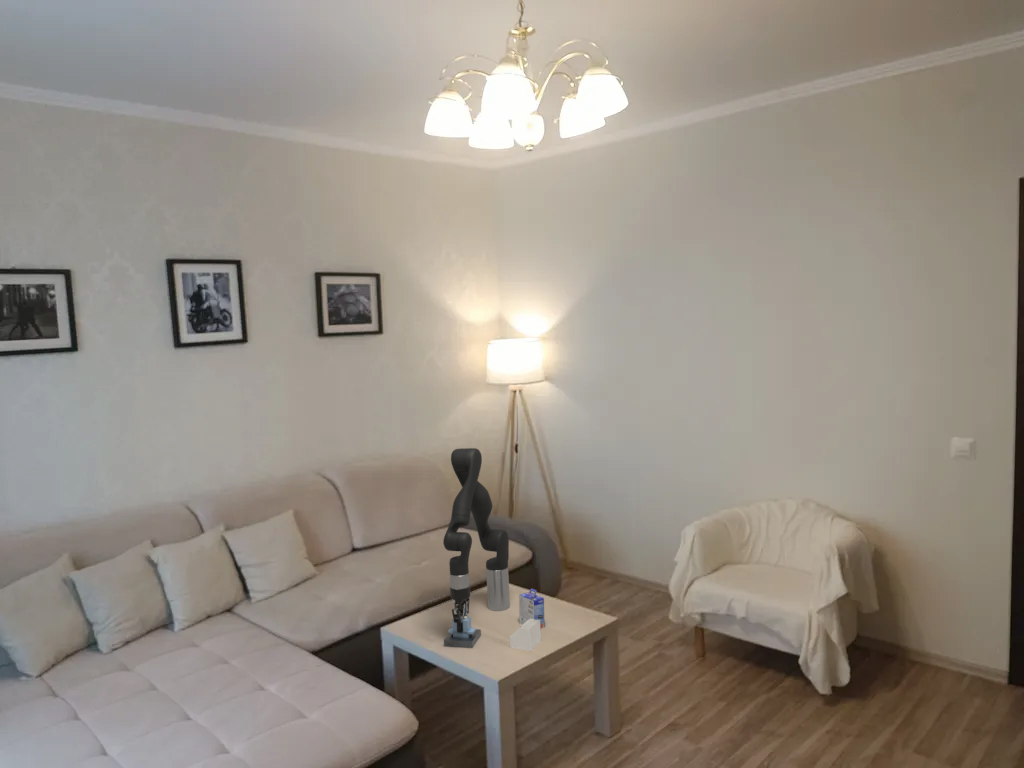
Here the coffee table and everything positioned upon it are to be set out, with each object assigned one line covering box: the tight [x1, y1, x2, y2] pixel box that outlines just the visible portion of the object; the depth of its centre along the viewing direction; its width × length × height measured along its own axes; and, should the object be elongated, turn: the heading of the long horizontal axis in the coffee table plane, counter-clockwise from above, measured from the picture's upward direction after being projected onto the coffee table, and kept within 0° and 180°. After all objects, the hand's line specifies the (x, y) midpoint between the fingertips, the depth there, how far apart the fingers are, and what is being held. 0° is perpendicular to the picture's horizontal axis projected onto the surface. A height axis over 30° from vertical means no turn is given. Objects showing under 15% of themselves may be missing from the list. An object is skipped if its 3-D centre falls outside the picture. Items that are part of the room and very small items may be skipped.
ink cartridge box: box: [518, 587, 546, 629], centre depth 278 cm, size 10×6×14 cm, turn 37°
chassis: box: [443, 628, 482, 649], centre depth 267 cm, size 11×11×2 cm
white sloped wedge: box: [509, 619, 542, 652], centre depth 264 cm, size 8×15×8 cm, turn 152°
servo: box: [448, 615, 477, 638], centre depth 267 cm, size 4×10×8 cm, turn 75°
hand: (462, 629), depth 267 cm, fingers closed on servo, 4 cm apart
